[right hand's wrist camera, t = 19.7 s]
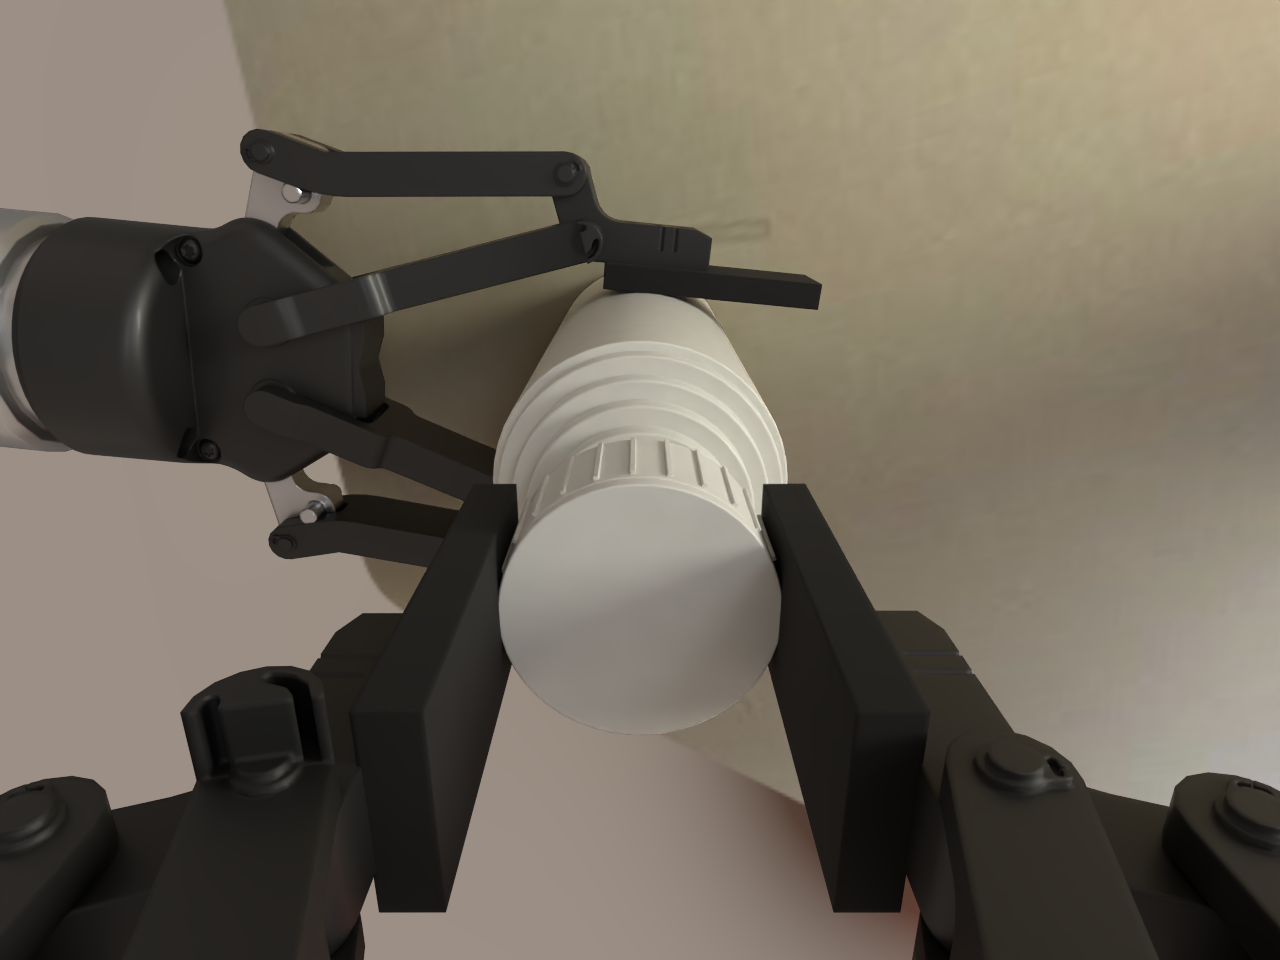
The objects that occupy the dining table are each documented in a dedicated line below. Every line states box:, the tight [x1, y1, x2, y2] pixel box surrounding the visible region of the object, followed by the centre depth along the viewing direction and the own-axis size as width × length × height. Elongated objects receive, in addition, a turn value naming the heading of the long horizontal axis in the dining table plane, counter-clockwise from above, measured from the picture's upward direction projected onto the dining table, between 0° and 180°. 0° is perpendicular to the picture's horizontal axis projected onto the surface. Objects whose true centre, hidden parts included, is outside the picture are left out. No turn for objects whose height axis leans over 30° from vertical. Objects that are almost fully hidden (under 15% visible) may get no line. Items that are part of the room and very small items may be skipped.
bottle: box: [493, 276, 788, 520], centre depth 23 cm, size 7×7×20 cm
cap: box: [498, 437, 781, 735], centre depth 13 cm, size 5×5×2 cm
